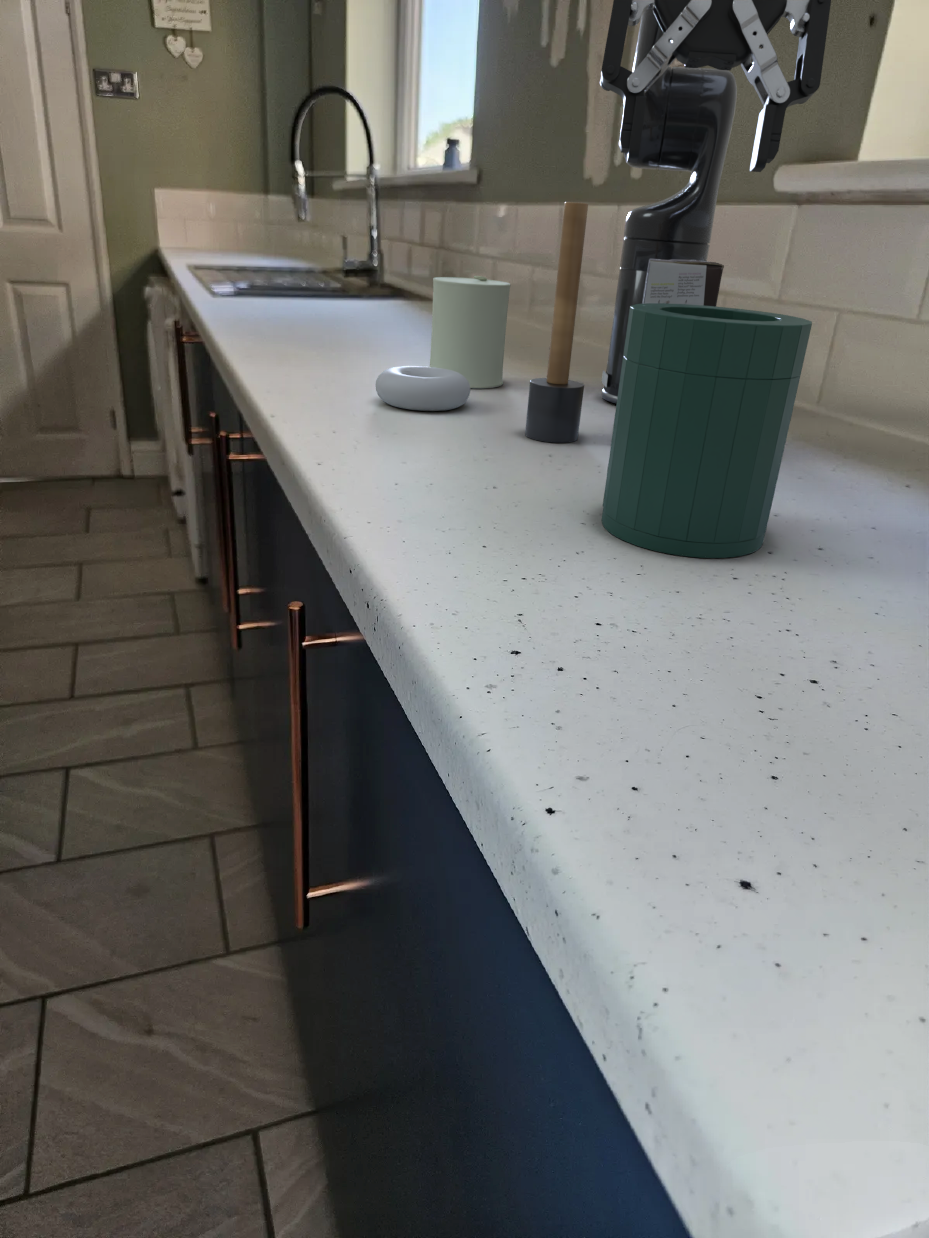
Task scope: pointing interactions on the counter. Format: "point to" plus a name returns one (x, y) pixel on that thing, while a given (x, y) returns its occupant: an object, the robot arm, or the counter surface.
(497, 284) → the can
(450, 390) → the donut
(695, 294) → the coffee box
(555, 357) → the brush
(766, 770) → the counter surface
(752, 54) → the robot arm
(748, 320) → the green utensil holder
